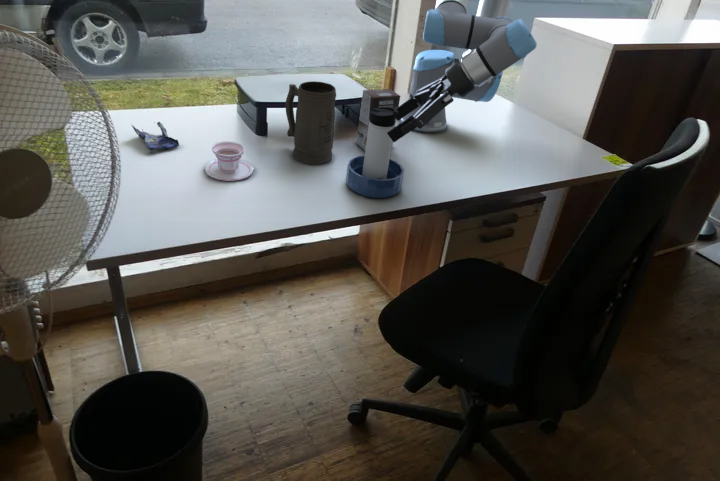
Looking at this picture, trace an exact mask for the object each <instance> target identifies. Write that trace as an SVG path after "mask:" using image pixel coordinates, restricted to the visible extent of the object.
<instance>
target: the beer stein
mask: <svg viewBox="0 0 720 481" xmlns="http://www.w3.org/2000/svg"><path fill="white" fill-rule="evenodd" d="M295 97H297V105H296V106H297V107H296V109H295V111H294V100H295ZM285 99H286V100H285V114H286V118H287V119H286V120H287V123H288V130H287V132H286V133H287V134H286V135H287V136H288V137H293V142H294V143H293V145H294V148H293V152H292V154H293V155H292V156H293V157H294V158H295V160H297V161H299V162H301V163H304V164H308V165H323V164H326V163H329V162H330V161H331V160H332V158H333V151H332V150H333V149H334V148H333V147H334V137H335V122H336V110H335V108H336V104H335V102H336V99H337V90H336V87H335V86H334V85H333V84H331V83H328V82H323V81H315V80H314V81H312V80H311V81H304V82H302V83H300V84H299V86H297V85H296V84H294V83H290V84H289V85H288V92H287V96H286V98H285ZM294 112H295V113H294Z"/></svg>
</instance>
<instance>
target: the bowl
mask: <svg viewBox="0 0 720 481" xmlns="http://www.w3.org/2000/svg"><path fill="white" fill-rule="evenodd" d="M364 157H365V154H362V155H357V156H354V157H352V158H350V159H349V160H348V163H347V169H346V176H345V178H346V179H345V183H346V185H347V187H349V189H350V190H352V191H354V192H355V193H356V194H358V195H361V196H362V197H363V196H364V197H367V198H371V199H385V198H389V197H393V196H395V195H398V193H400V191H402V186H403V180H404V174H405V168H404V166H403V165H402V164H401V163H399V162H398V161H397V160H395V159H393V158H390V159H389V165H388V172H387V178H386V179H372V178H368V177H365V176H362V172H363V164H364Z"/></svg>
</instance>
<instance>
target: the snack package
mask: <svg viewBox="0 0 720 481" xmlns="http://www.w3.org/2000/svg"><path fill="white" fill-rule="evenodd" d="M153 124H156V125H157V127H158V128H160V131H161V134H157V135H156V134H152V133H149V132H146V131H144V129H141V130H142V131H140V129H138V128H136V127H135V126H134V125H132V124H131V127H132V128H133V131H134V132H135V133H136V135H138V137H139V138H140V139H141V141H142V142H143V143H144V144H145V145H146V146H147V148H148V150H149V151H153V150H156V149H161V148H162V149H163V150H162V151H167V150H172V149H174V148H176V147H179V146H180V143H179V140H178V139H175V138H174V137H172V136H171V137H170V136H169V135H168V131H167V129H166V127H165V126H164V125H163V123H161V122H160V121H158V122H156V123H155V121H154V122H153ZM152 153H153V152H150V154H152Z"/></svg>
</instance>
